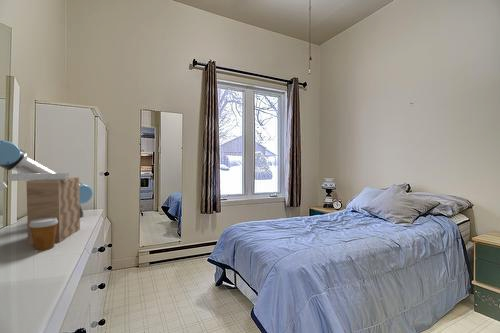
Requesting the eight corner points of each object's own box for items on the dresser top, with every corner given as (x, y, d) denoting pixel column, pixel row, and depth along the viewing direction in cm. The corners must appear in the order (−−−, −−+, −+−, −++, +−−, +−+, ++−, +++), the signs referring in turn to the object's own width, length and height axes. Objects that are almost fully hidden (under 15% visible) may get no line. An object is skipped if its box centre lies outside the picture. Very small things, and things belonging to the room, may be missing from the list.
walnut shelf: (53, 231, 130) (52, 177, 129) (80, 229, 133) (79, 177, 132) (27, 244, 108) (26, 180, 108) (59, 242, 111) (58, 180, 111)
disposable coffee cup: (64, 245, 107) (63, 218, 107) (39, 253, 98) (38, 223, 98) (49, 243, 110) (48, 216, 110) (23, 250, 101) (23, 221, 101)
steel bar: (13, 180, 112) (13, 173, 112) (69, 179, 118) (69, 172, 118) (7, 180, 109) (7, 174, 109) (65, 179, 114) (65, 173, 114)
